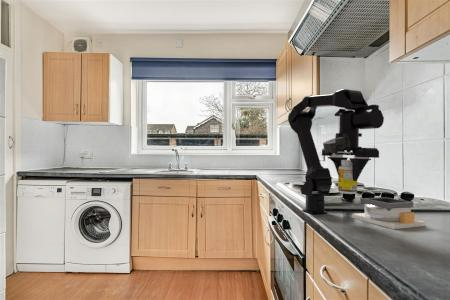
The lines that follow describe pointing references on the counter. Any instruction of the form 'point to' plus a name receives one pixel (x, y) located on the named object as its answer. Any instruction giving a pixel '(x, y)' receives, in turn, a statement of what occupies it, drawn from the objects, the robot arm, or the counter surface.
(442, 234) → the counter surface
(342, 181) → the supplement bottle
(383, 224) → the mount plate
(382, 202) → the hollow square frame
